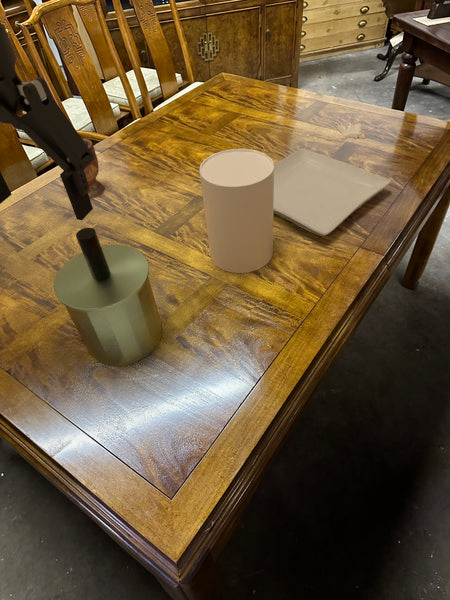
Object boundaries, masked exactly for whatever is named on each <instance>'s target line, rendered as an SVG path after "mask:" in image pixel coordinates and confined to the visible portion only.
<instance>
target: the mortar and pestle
mask: <svg viewBox="0 0 450 600" xmlns="http://www.w3.org/2000/svg"><path fill="white" fill-rule="evenodd" d="M82 140H83V141H84V142H85V144H86V145H87V146H88V148H89V149H90V151H91V152H92V153H93V155H94V157H95V160H94V161H93V162H92V163H91V164H90V165H89V166H88V167H87V168H86V169H84V172H85V175H86V178H87V181H88V184H89V191H88V195H89V198H90V200H91V199H95V198H98V197H99V196H101V195H102V194H103V193H104V192H105V190H106V188H105V186H104V185H103V183H102V182H100V181H98V180H97V177H98V175H99V172H100V171H99V169H100V168H99V160H98V156H97V153H96V149H95V146H94V144H93V142H92V140H91V139H88V138H82ZM67 161H68V162H69V161H70V160H69V159H68V158H67Z"/></svg>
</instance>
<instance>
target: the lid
mask: <svg viewBox="0 0 450 600" xmlns="http://www.w3.org/2000/svg"><path fill="white" fill-rule="evenodd" d="M75 238H76V240H77V243H78V245H79V247H80V250H81V252H79V253H78V254H76V255H75V256H73V257H72V258H70V259H69V260H68V261H66V262H65V263H64V264H63V265H62V266H61V267H60V269H59V270H58V272H57V273H56V275H55V278H54V282H53V292H54V294H55V296H56V298H57V300H58V301H59V302H60V303H61V304H62V305H63V306H64V307H65V306H66V307H68V308H70V309H73V310H76V311H82V312H96V311H103V310H107V309H111V308H114V307H116V306H119V305H121V304H123V303H125V302H127V301H128V300H130V299H131V298H133V297H134V296H135V295H136V294H137V293H138V292H139V291H140V290H141V289H142V288H143V287H144V285H145V283H146V282H147V279H148V277H149V275H150V265H149V262H148V259H147V258H146V256H145V255H144V254H143V252H142V251H139V250H138V249H136V248H134V247H132V246H128V245H123V244H105V245H101V242H100V239H99V237H98V234H97V232H96V229H95V228H93V227H84V228H81V229H79V230H77V232H76V233H75ZM66 307H65V308H66Z"/></svg>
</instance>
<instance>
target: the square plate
mask: <svg viewBox="0 0 450 600" xmlns="http://www.w3.org/2000/svg"><path fill="white" fill-rule="evenodd" d="M391 184H392V180H391V179H390V178H388V177H385V176H382V175H381V174H377V173H374V172H373V171H370V170H367V169H364V168H362V167H359V166H356V165H353V164H351V163H347V162H345V161H342V160H339V159H336V158H335V157H334V158H333V157H331V156H328V155H324V154H322V153H318V152H315V151H312V150H309V149H306V148H299V149H297V150H296V151H294V152H292V153H291V154H289V155H287V156H286V157H284V158H282V159H281V160H279V161H278V162H276V163H274V204H273V214H275V215H277V216H279V217H281V218H282V219H285V220H287V221H289V222H291V223H293V224H294V225H296V226H298V227H300V228H301V229H304V230H306V231H307V232H309V233H312V234H315V235H317V236H320V237H325V236H328V235H330V233H332V232H333V231H334V230H335V229H337V228H338V227H339V226H340V225H341V224H342V223H343V222H344V221H345V220H346V219H347V218H348V217H349V216H351V215H352V214H353V213H354V212H355V211H356V210H358V209H359V208H361V207H362V206H363V205H365V204H366V203H367V202H368V201H370V200H371V199H373V198H374V197H375V196H377V195H378V194H379V193H381V192H382V191H383V190H384V189H387V187H389V186H390V185H391Z"/></svg>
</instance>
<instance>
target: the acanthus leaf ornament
mask: <svg viewBox="0 0 450 600" xmlns="http://www.w3.org/2000/svg"><path fill="white" fill-rule="evenodd" d="M362 128H363V127H362V123H355V124H353V125H352V124H350V125H348V126H346V125H345V124H337V126H336V130H337V129H338V130H337V131H338V132H339V131H340V132H341V133H340V132H339V133H340V134H342V135H340V140H342V139H345V140H346V139H349V138H348V137H355V138H354V139H363V138H365V139H366V134H364V132H362V130H363V129H362ZM358 137H359V138H358Z"/></svg>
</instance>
